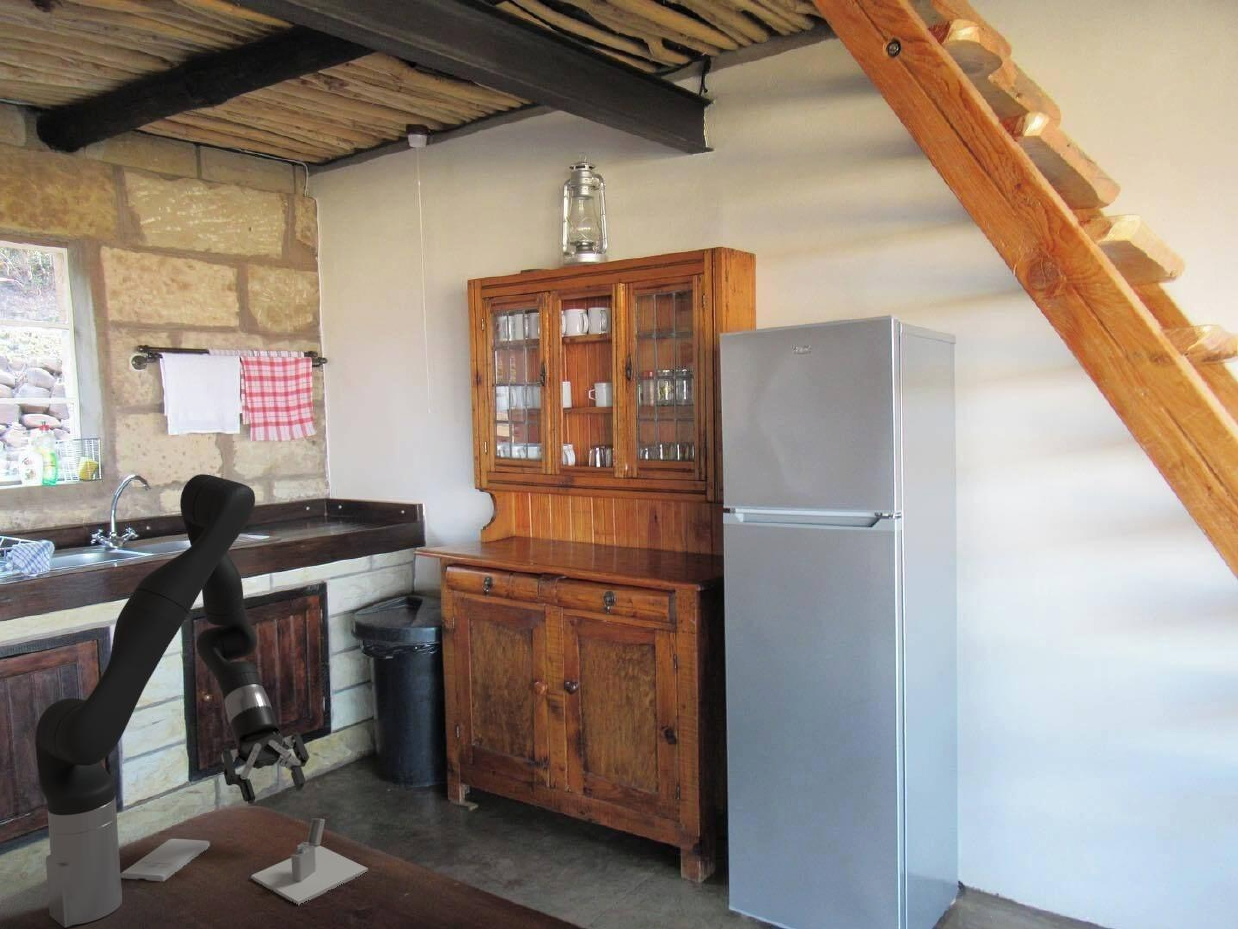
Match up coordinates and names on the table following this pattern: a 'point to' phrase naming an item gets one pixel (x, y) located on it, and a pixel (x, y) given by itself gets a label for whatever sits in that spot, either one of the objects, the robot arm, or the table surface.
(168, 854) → the external hard drive
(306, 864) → the lighter
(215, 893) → the table surface
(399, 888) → the table surface
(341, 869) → the mat
